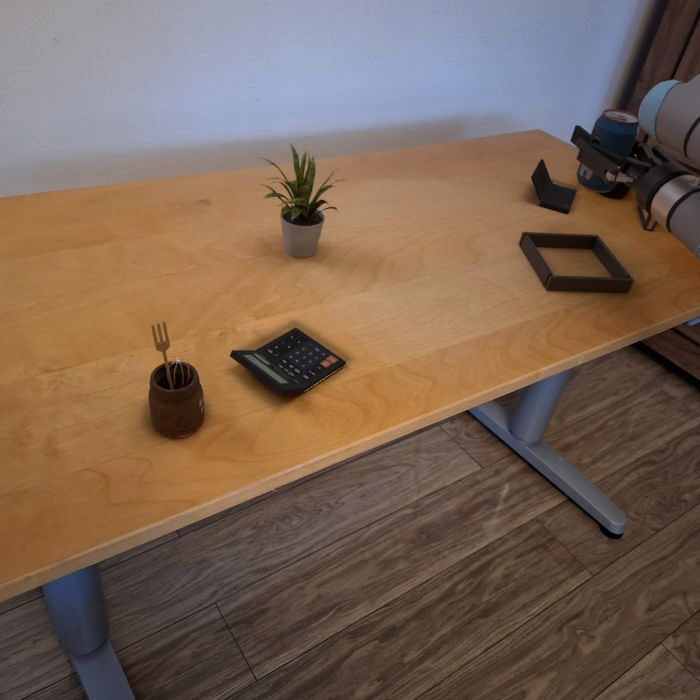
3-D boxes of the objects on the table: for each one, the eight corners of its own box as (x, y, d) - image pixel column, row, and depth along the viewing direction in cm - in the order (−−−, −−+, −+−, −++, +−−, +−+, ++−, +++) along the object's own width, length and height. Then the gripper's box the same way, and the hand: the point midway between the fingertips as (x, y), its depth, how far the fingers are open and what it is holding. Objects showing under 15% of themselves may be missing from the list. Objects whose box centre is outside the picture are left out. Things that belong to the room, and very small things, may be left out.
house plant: (239, 231, 104) (239, 136, 94) (314, 219, 110) (321, 129, 100) (271, 276, 95) (274, 177, 85) (350, 261, 101) (362, 167, 90)
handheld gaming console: (581, 208, 122) (563, 162, 119) (545, 223, 125) (527, 178, 122) (578, 192, 132) (561, 149, 128) (544, 206, 135) (527, 164, 131)
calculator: (345, 366, 81) (347, 349, 79) (280, 409, 74) (281, 391, 72) (295, 332, 86) (296, 314, 84) (229, 369, 79) (229, 351, 77)
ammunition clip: (653, 231, 122) (680, 174, 114) (643, 229, 122) (670, 172, 114) (645, 207, 130) (671, 152, 122) (636, 205, 130) (661, 150, 122)
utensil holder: (164, 447, 68) (154, 367, 60) (142, 411, 72) (130, 331, 64) (214, 427, 71) (210, 348, 63) (190, 393, 74) (184, 314, 67)
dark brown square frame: (593, 246, 114) (598, 234, 113) (628, 292, 103) (634, 280, 102) (518, 243, 112) (522, 231, 110) (546, 290, 101) (551, 277, 99)
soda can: (619, 185, 108) (648, 116, 100) (608, 198, 103) (638, 127, 95) (580, 172, 110) (605, 104, 102) (568, 185, 105) (594, 114, 98)
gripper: (744, 173, 89) (654, 113, 105) (623, 171, 84) (549, 109, 101) (718, 220, 93) (636, 155, 110) (602, 220, 89) (535, 153, 106)
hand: (594, 133), depth 106 cm, fingers closed on soda can, 7 cm apart
